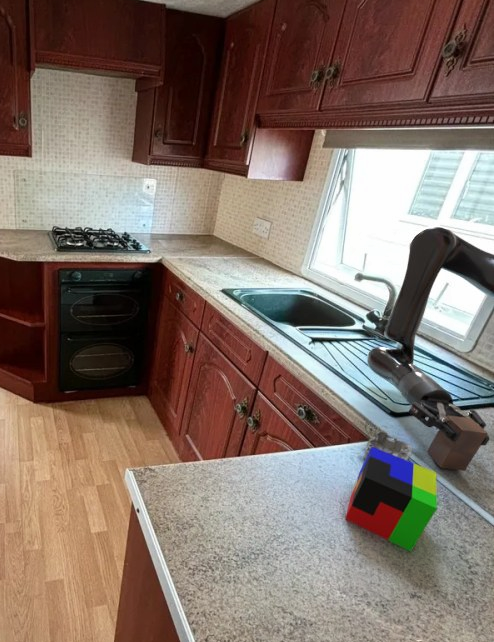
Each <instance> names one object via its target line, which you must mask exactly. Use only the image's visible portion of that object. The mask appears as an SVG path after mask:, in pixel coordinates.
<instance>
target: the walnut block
mask: <svg viewBox="0 0 494 642" xmlns="http://www.w3.org/2000/svg"><path fill="white" fill-rule="evenodd" d="M446 419H447V423H450V424H451V425H452V426H453V427H454V428H455V429H456V430H457V431H458V432H459V433H460V437H459V439H458V440H457V442H454V441H451V440H450V439H449V438H448V437H446V435H445V434H444V433H443V432H442V431H440V430H437V433H436V434H435V436H434V438H433V440H432V442H431V443H430V445H429V447H428V449H427V451H426V452H427V453H428V454H429V456H430V457H431V458H432V459H433V461H435V463H436V464H437V465H438V466H439V468H442V469H450V470H456V471H465V472H466V470H467V469H468V467H469V465H470V464H471V462H472V460H473V458H474V457H475V456H476V454H477V453H478V451H479V449H480V448H481V446H482V445H481V444H482V443H483V441H484V439H485V438H486V436H487V435H488V436H489V433H488V432H487V431H486V430H485V428H484V429H483V428H482V427H480V426H479V425H478V424H477V423H476V422H475V421H474V420H473V419H471V418H464V417H457V416H449V415H447V416H446Z"/></svg>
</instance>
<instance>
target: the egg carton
mask: <svg viewBox="0 0 494 642" xmlns="http://www.w3.org/2000/svg"><path fill="white" fill-rule="evenodd" d="M371 447H374V448H377V449H379V450H382V451H384V452H387V453H389V454H392V455H394V456H397V457H399V458H402V459H404V460H407V461H409V458H410V456H411V454H412V451H413V446H412V445H410V444H407V443H406V442H405V441H400V440H398V438H397V437H394V438H393V439H392V438H390V437H388V432H387V431H385V430H382V429H381V426H378V427H376V429H375V430H374V432H373V433H372V435H371V437H370V438H369V439H368V441H367V443H366V447H365V448H366V449H365V451H364V452H365V454H364V455H363V457H362V458H363V459H364V461H365V460H366V457H367V455H368V453H369V451H370V449H371Z"/></svg>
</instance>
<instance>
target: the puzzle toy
mask: <svg viewBox="0 0 494 642" xmlns="http://www.w3.org/2000/svg"><path fill="white" fill-rule="evenodd" d="M437 492H438V491H437V472H436V471H434V470H431V469H428V468H426V467H424V466H421V465H419V464H416V463H414V462H412V461H409V460H404V459H402V458H399V457H397V456H394V455H392V454H389V453H387V452H384V451H382V450H379V449H377V448H374V447H371V449H370V451H369V453H368V455H367V457H366V460H365V459H364V462H363V464H362V466H361V468H360V470H359V472H358V474H357V477H356V479H355V481H354V483H353V485H352V489H351V493H350V497H349V500H348V501H349V502H348V506H347V510H346V514H345V519H344V520H346V521H348V522H350V523H352V524H354V525H355V526H359V527H361V528H362V529H364V530H367V531H368V532H370V533H372V534H374V535H377V536H378V537H381V538H382V539H384V540H386V541H388V542H390V543H393V544H395V545H397V546H399V547H401V548H403V549H405V550H406V551H408V552H412V550H413V548H414V547H415V546H416V544H417V542H418V540H419V539H420V537H421V536H422V534H423V532H424V531H425V529H426V527H427V526H428V524H429V523H430V521H431V519H432V518H433V516H434V514H435V513H436V511H437V510H438V497H437V495H438V493H437Z"/></svg>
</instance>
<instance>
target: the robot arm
mask: <svg viewBox="0 0 494 642" xmlns="http://www.w3.org/2000/svg"><path fill="white" fill-rule="evenodd" d="M441 270H445V271H447V272H449V273H451V274H455V275H456V276H458V277H460V278H462V279H463V280H465V281H466V282H468V283H469V284H470V285H472V286H473V287H475V288H476V289H477V290H479V291H481V293H483V294H485V295H486V296H488V297H489V298H491V299H493V300H494V253H491V252H488V251H486V250H483V249H481V248H479V247H477V246H475V245H474V244H472V243H470V242H469V241H467V240H465V239H464V238H462V237H460V236H458V235H457V234H455V233H454V232H453V231H452V230H450V229H449V228H447V227H444V226H440V225H439V226H438V225H437V226H436V225H435V226H433V225H432V226H428V227H424V228H423V229H421V230H420V231H418V232H416V234H414V236H412V238H411V240H410V242H409V252H408V259H407V266H406V271H405V274H404V277H403V281H402V284H401V287H400V290H399V292H398V294H397V297H396V299H395V301H394V305H393V307H392V309H391V312H390V315H389V318H388V320H387V322H386V326H385V328H384V333H383V334H384V337H385V338H386V339H388V340H390V341H392V342H394V343H395V342H396V348H392V347H385V346H376V347H374V348H372V349H370V350H369V351H368V352H367V356H366V362H367V363H366V364H367V366H368V367H369V369H370V370H371V371H372V372H373V373H374V374H375V375H377V376H379V377H380V378H382V379H384V380H385V381H387V382H389V383H390V384H392V385H393V387H395V388H396V390H398V391H399V393H400V394H401V396H402V397H403V399H405V401H406V402H407V403H408V404H409V405H410V407H409V409H408V413H409V414H411V415H412V416H413V417H414V418H415V419H417V420H418V421H419V422H420V423H422V424H423V425H424V426H425V427H427V428H430V429H432V428H433V427H434V428H435V429H436V430H437V431H439V430H440V431H442V432H443V433H444V434H445V435H446V437H448V438H449V439H450V440H451V441H454V442H457V440H458V439H459V437H460V433H459V432H458V431H457V430H456V429H455V428H454V427H453V426H452V425H451V424H450V423H447V419H446V416H447V415H449V416H457V417H464V418H471V419H473V420H474V421H475V422H476V423H477V424H478V425H479V426H480V427H482V428H483V429H484V430H485V428H486V426H487V423H486V422H485V421H484V420H483V418H482V417H481V416H480V414H479V413H478V412H477V411H476V410H474V409H469V411H464V410H462V409H461V408H460V407H459V406H457V405H455V404H454V400H453V397H452V396H451V394H450V393H449V392H448V390H446V389H444V388H443V387H442V386H441V385H440V384H439V383H438V382H437V381H435V379H433V378H432V377H431V376H429V375H427V374H426V373H425V372H424V371H422V369H420V367H418V366H417V365H415V364H414V361H415V342H416V336H417V334H418V332H419V328H420V326H421V323H422V322H423V321H422V320H423V318H424V315H425V312H426V308H427V305H428V301H429V297H430V294H431V292H432V288H433V286H434V284H435V282H436V279H437V277H438V275H439V273H441ZM489 441H490V436H489V434H488V435H487V436H486V438H485V439H484V441H483V443H482V444H481V446H483V447H485V446H487V444H488V443H489Z"/></svg>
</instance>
